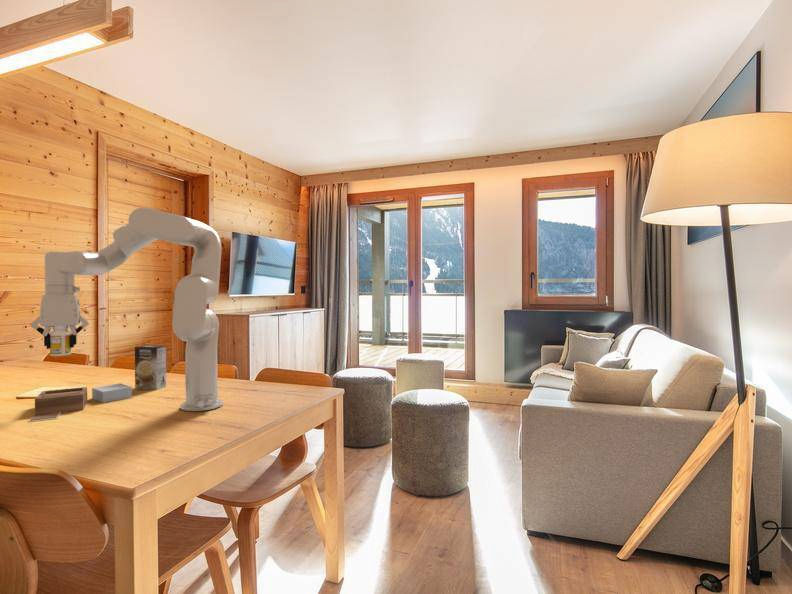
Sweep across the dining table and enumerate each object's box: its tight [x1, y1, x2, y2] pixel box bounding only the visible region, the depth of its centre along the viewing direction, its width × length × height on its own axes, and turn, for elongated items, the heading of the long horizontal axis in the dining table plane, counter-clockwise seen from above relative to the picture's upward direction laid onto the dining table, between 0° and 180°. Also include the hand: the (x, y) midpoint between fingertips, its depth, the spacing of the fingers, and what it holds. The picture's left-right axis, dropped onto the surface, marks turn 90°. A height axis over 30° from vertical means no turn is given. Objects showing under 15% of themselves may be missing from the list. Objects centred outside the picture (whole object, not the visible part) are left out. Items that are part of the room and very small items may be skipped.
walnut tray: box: [34, 386, 88, 414], centre depth 144 cm, size 12×12×5 cm
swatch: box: [27, 412, 62, 423], centre depth 134 cm, size 7×7×1 cm
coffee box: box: [134, 344, 167, 391], centre depth 172 cm, size 9×6×16 cm
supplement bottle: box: [49, 326, 72, 357], centre depth 143 cm, size 5×5×10 cm
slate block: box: [91, 383, 133, 404], centre depth 156 cm, size 9×9×4 cm
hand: (60, 347), depth 143 cm, fingers closed on supplement bottle, 5 cm apart
